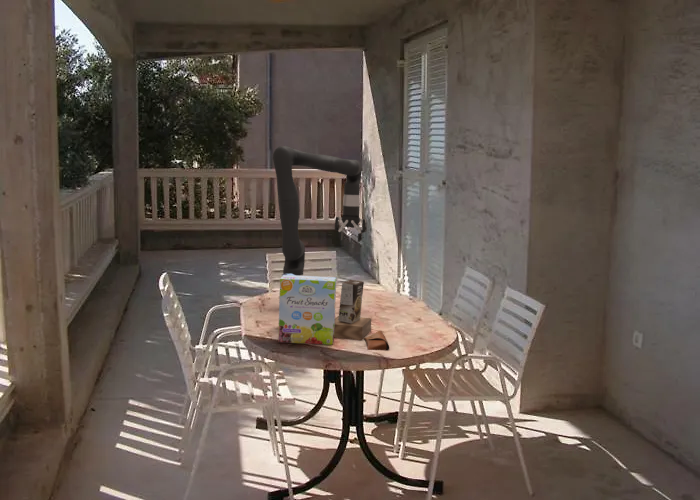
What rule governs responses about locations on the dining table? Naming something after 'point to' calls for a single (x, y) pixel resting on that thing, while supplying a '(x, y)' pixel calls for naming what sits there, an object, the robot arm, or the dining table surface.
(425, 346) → the dining table surface
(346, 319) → the coffee box
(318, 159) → the robot arm
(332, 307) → the snack box
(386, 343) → the sunglasses case
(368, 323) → the walnut block
